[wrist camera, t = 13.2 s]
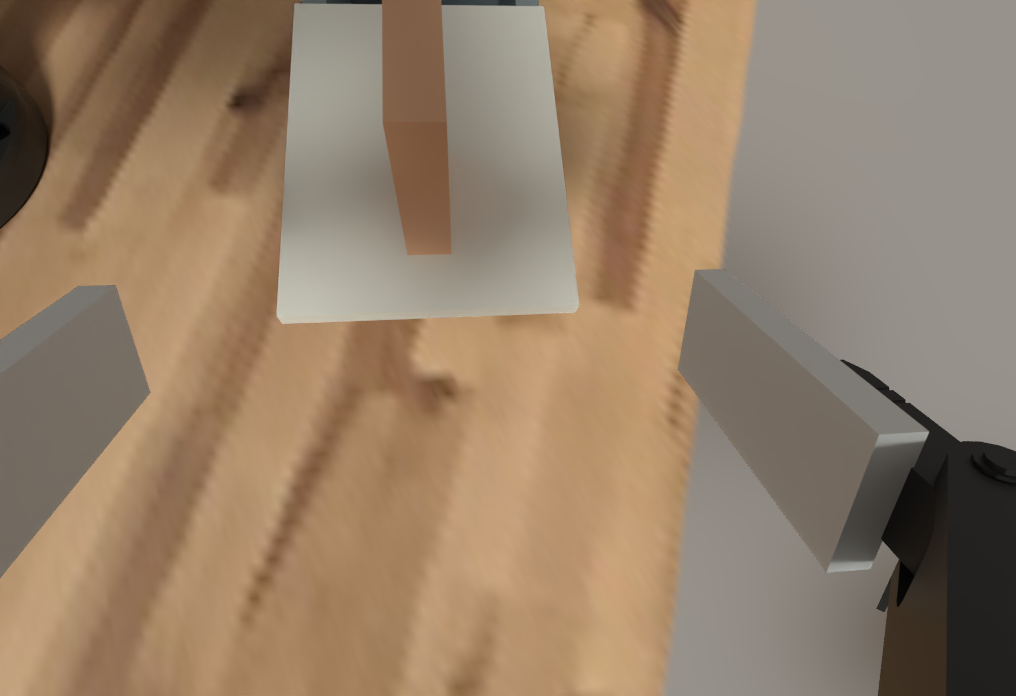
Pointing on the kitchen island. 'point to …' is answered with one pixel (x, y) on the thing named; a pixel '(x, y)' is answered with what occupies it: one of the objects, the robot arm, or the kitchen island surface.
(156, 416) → the kitchen island surface
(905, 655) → the robot arm
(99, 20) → the kitchen island surface
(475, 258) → the lid
